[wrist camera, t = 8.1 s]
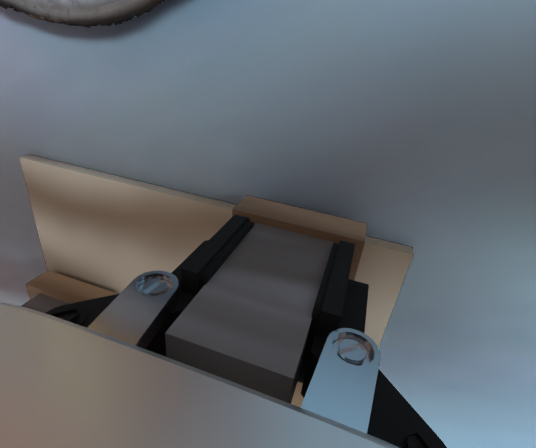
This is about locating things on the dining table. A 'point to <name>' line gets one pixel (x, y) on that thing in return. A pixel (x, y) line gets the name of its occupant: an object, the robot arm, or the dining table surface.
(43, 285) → the strip piece
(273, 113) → the dining table surface
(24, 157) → the board
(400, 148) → the dining table surface
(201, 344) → the strip
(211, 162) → the dining table surface
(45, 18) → the food plate
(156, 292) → the robot arm
